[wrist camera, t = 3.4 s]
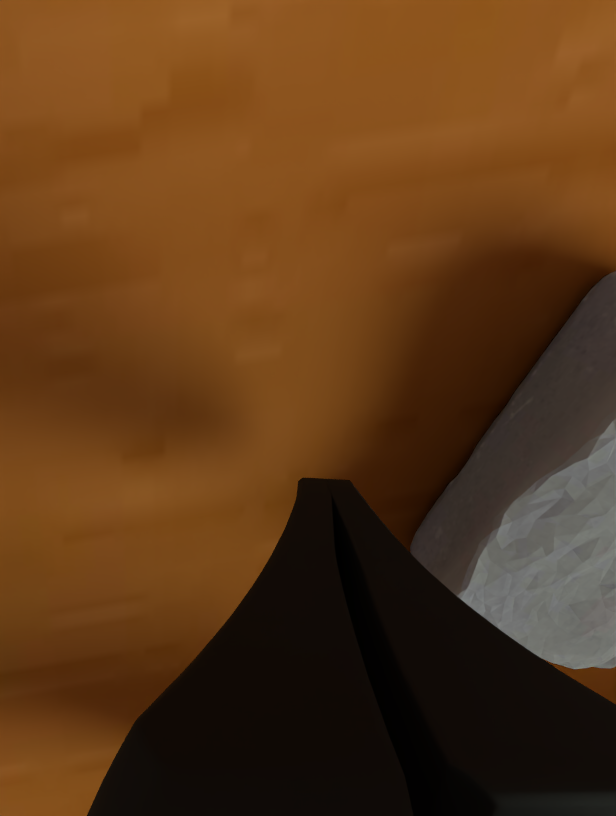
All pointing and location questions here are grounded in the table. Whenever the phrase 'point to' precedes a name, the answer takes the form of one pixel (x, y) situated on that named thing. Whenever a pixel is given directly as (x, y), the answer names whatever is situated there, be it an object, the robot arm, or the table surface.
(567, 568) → the stone block
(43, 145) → the table surface
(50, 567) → the table surface
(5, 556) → the table surface
